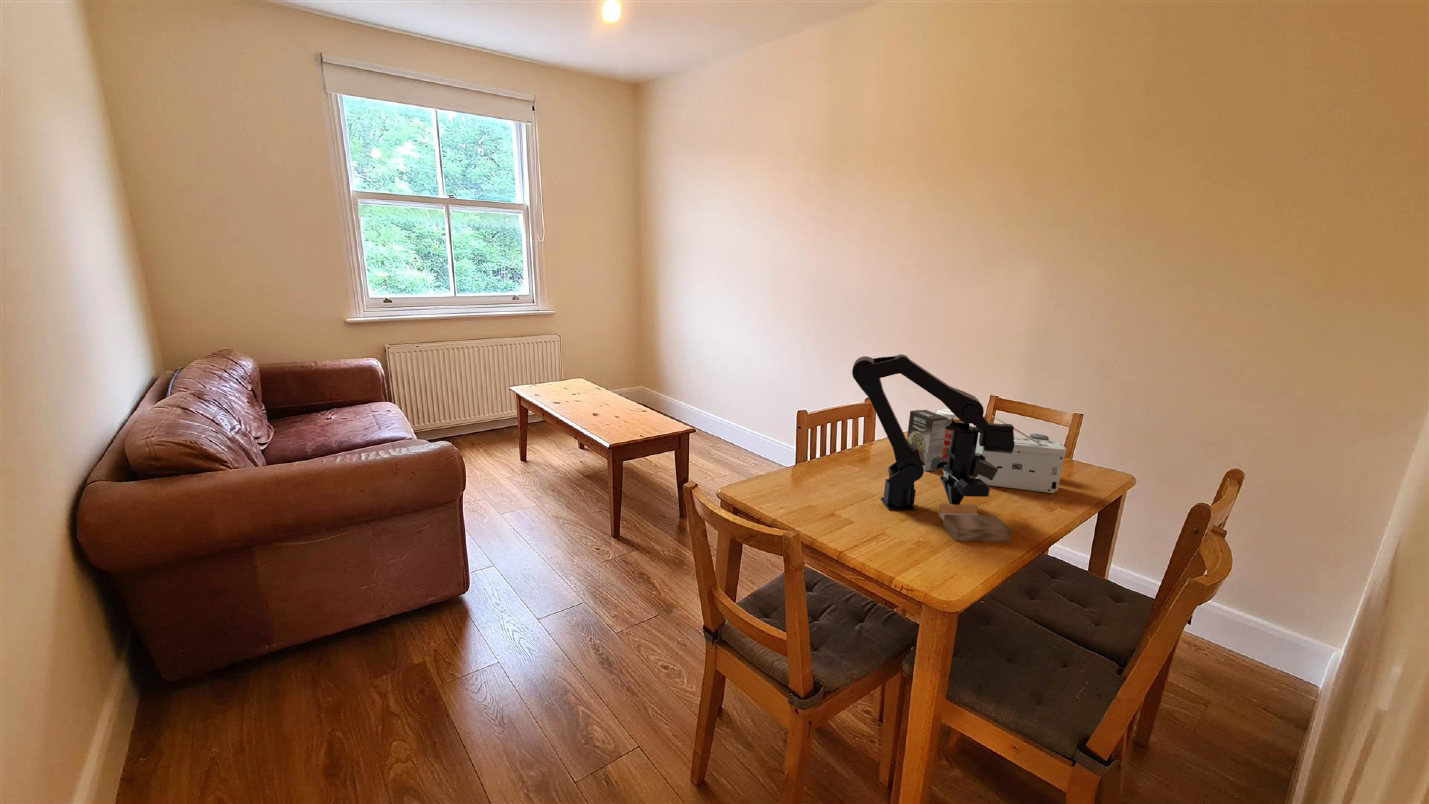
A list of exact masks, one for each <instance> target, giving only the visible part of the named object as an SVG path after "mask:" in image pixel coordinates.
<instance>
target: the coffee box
mask: <svg viewBox="0 0 1429 804" xmlns="http://www.w3.org/2000/svg"><path fill="white" fill-rule="evenodd" d="M936 413H937V412H934V411H930V410H928V409H915V410H910V411H909V419H908V428H907V435H906V439H907V440H908V441H909V443H910V444H911V445H912V444H914V443H917V446H918V450H919V452H920V453H921V454H922V455H923V458H924V462H925V465H923V469H924V472H929V471H934V470H933V469H932V468H931V461H932V460H933V459H934V458H935V457H942V453H943V446H944V440H945V433H946V429H945V426H944V423H946V422H947V420H948V417H945V416H942V415H939V414H936ZM940 469H941V468H939V469H938V470H940Z"/></svg>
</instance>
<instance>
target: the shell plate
mask: <svg viewBox="0 0 1429 804" xmlns="http://www.w3.org/2000/svg"><path fill="white" fill-rule="evenodd" d="M978 508H979V507H978V505H977V504H966V503H965V504H963V503H962V504H961V503H960V504H950V503H947V504H943V503H942V504H939V506H938V511H937V513H938V514H937V516H938V517H940V519H941V520H942V521H944V515H979V514H978Z"/></svg>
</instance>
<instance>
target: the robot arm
mask: <svg viewBox="0 0 1429 804" xmlns="http://www.w3.org/2000/svg"><path fill="white" fill-rule="evenodd" d="M851 373H852V375H851V376H852V378H853V379H854V381H855V382H856V383H857V386H858V387H859V388H860V389H861V390H862V392H863V393H864V394H865V395H866V396H867V397H868V399H869V401H870V403H871V405H872V407H873V410H874V411H875V413H876V416H877V417H878V420H879V422H880V424H881V426H882V428H883V431H884V433H885V435H886V436H887V439H888V441H889V443H890V445H891V447H892V450H893V455H894V460H895V462H894V463H892V464H891V465H890V466H888V467H887V469H888V479H887V478H885V482H884V492H883V497H880V501H881V502H882V503H883V504H884V505H885V507H886V508H887V509H888V511H892V510H893V511H914V510H915V506H914V504H915V499H916V492H917V491H916V489H915V483H916V482H917V481H919V480H920V479H921V478H922V477H923V475H924V473H925V471H924V469H923V465H925V462H924V458H923V455H922V454H921V453H920V452H919V450H918V446H917V443H914V444H912V445H911V444H910V443H909V441H908V440H907V436H906V435H905V432H903V429H902V427H901V425H900V423H899V421H898V419H897V416H896V414H895V411H894V409H893V407H892V405H891V403H890V402H889V399H888V397H887V395H886V393H885V391H884V387H883V383H882V379H881V378H886V377H890V376H894V375H898V374H899V375H902V376H904V377H905V378H907V379H908V380H910V381H911V382H913V383H914V384H916V385H917V386H918V387H920V388H922V389H923V390H924V391H926V392H928V393H929V394H930V395H932V396H933V397H935V398H936V399H938V400H940V401H941V402H942V403H943V405H945V406H946V408H947V409H950V410H951V412H952V413H954V414H955V415H956V416H957V417H958V418H959V419H960V420H961V421H962V422H956V421H955V420H954V419H953V418H951V419H950V420H949V421H948V422H946V423H944V426H945V429H947V430H952V435H951V442H950V449H946V453H947V454H948V455H949V456H948V458H944V457H935V458H934V459H933V460H932V461H931V468H932V469H933V470H932V471H934V472H937V471H939V470H940V469H942V472H943V476H939V479H940V481H941V484H942V486H943V489H944V491H945V494H946V497H947V500H948V504H961V502H962V501H963V499H964V497H970V498H971V497H974V498H975V497H977V498H979V497H981V498H984V497H986V498H988V497H989V496H990V493H991V487H990V485H987V484H986V483H984V482H983V481H982V480H981V479H976V478H975V477H978V474H979V475H981V476H984V477H986V478H988V479H989V480H993V478H994V476H995V475H996V473H997V471H998V468H997V467H995V466H994V465H992V464H991V463H989V462H987V461H985V456H983V455H982V454H979V453H976V446H977V440H978V435H979V434H980V436H979V446H983V449H984V451H989V452H999V453H1008V454H1011V453H1012V452H1013V449H1014V444H1015V442H1014V437H1015V430H1014V428H1015V427H1014V425H1013V424H1012V423H1006V424H1004V423H994V422H989V421H988V420H987V418H986V417H985V416H984V413H985V409H984V406H983V405H982V403H981V401H979V399H978V398H977V397H976V396H975V395H973V394H970V393H969V392H966V391H964V390H962V389H958V388H956V387H954V386H951V385H948V384H947V383H946V382H944V381H943V380H942V379H940V378H938V377H937V376H935V375H934V374H932V373H931V372H929V371H928V370H927V369H926V368H923V366H920V365H919V364H917V363H916V362H915V361H913V360H911V359H910V358H909V356H907V355H906V354H901V353H900V354H897V355H892V356H881V357H875V358H873V357H871V356H860V357H858V358H857V359H856V360H855V361H854V363H853V366H852V370H851ZM970 424H971V425H970ZM972 425H973V426H972ZM975 453H976V454H975ZM939 468H940V469H939Z"/></svg>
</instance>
